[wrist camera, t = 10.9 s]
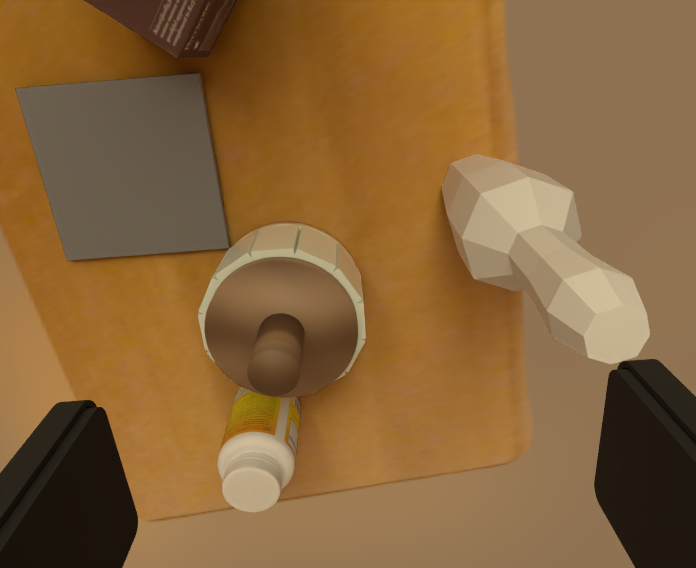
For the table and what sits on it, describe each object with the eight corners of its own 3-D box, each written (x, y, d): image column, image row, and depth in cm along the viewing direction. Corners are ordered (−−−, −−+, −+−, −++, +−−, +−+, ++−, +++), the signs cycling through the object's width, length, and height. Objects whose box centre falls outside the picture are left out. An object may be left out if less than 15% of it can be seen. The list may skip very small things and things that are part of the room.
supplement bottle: (222, 400, 46) (191, 490, 37) (266, 361, 45) (247, 444, 35) (270, 438, 48) (253, 534, 38) (315, 401, 46) (309, 491, 37)
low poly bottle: (431, 142, 38) (536, 251, 18) (522, 140, 38) (732, 247, 18) (427, 229, 40) (515, 413, 20) (513, 228, 40) (687, 409, 20)
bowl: (206, 227, 40) (185, 256, 34) (356, 216, 40) (359, 243, 34) (230, 357, 44) (215, 401, 39) (365, 347, 44) (369, 389, 39)
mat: (20, 87, 36) (15, 88, 35) (200, 72, 36) (198, 73, 35) (70, 257, 41) (66, 260, 40) (230, 245, 41) (228, 248, 40)
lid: (194, 263, 35) (168, 302, 29) (351, 250, 34) (353, 287, 29) (221, 394, 39) (203, 449, 33) (362, 383, 38) (366, 437, 33)
